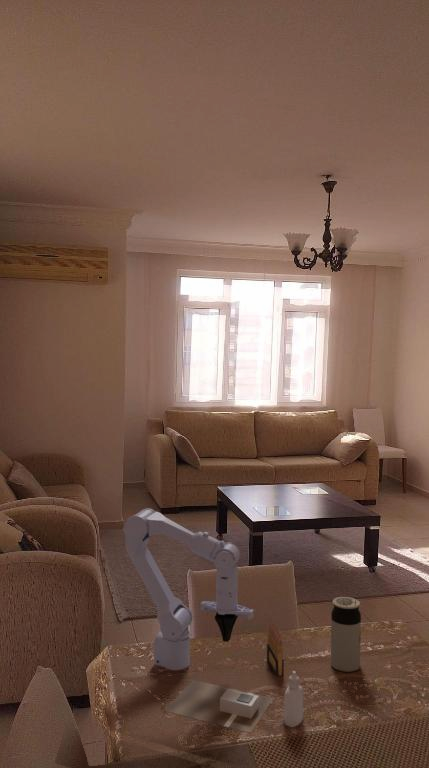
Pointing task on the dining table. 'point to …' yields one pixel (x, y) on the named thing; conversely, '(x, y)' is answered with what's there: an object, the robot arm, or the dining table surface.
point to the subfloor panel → (214, 706)
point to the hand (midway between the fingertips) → (226, 640)
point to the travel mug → (345, 634)
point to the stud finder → (239, 703)
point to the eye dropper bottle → (293, 702)
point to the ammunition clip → (275, 650)
